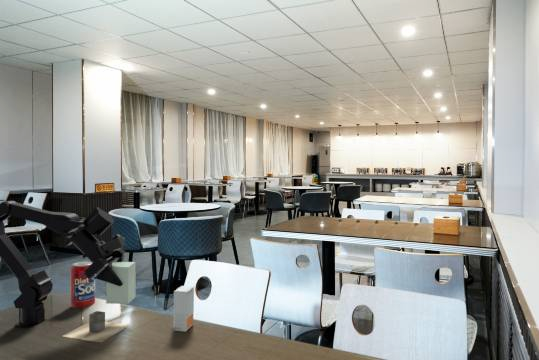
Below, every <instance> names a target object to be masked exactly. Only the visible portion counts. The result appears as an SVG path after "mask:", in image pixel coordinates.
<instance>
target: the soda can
mask: <svg viewBox="0 0 539 360" xmlns="http://www.w3.org/2000/svg"><path fill="white" fill-rule="evenodd" d="M91 264H92V262H91V261H78V262H74V263H72V266H71V268H70V273H69V275H70V278H69V279H70V280H69V281H70V285H69V287H70V293H69V297H70V298H69V299H70V301H69V302H70V303H69V304H70V307H71V308H74V309H75V308H85V307H89V306H92V305H94V304H95V303H96V279H94V278H95V277H96V274H95V275H94V277H93V278H91V279H90V280H89V279H88V278H87V277H86V276H85V270H86V269H87V268H88V267H89V266H90V265H91Z"/></svg>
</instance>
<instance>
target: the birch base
mask: <svg viewBox="0 0 539 360" xmlns="http://www.w3.org/2000/svg"><path fill="white" fill-rule="evenodd" d="M88 316H89V317H88V319H89V321H88V322H87V323H85V324H83V325H81V326H79V327H77V328H74V329H73V330H71V331H69V332H67V333H65V334H63V335H61V337H64V338H70V339H74V340H75V339H77V340H83V341H90V342H96V343H103V342H105V341H106V340H107V339H108V340H109V338H111V337H112V336H114V335H116V334H117V333H119V332H121V331H123V330H124V329H126V328H128V327H129V326H130V324H128V323H127V324H126V323H120V322H111V321H106V312H105V311H99V310H96V311H94V312H92V313H89V314H88Z"/></svg>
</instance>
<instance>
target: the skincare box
mask: <svg viewBox="0 0 539 360" xmlns="http://www.w3.org/2000/svg"><path fill="white" fill-rule="evenodd" d="M194 296H195V286H188V285H187V286H186V285H180V286H179V287H177V288H176V290H173V314H172V315H173V317H172V321H173V323H172V327H173V328H172V331H173V332H188V330H189V329H190V328H191V327H193V326H194V307H195V306H194V301H195V299H194V298H195V297H194Z"/></svg>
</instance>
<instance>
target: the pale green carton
mask: <svg viewBox="0 0 539 360" xmlns="http://www.w3.org/2000/svg"><path fill="white" fill-rule="evenodd" d="M136 267H137V266H136V261H123V262H114V263H112V270H113V271H114V272H115V274H116V275H117V276H118V277H119V279H120V280H121V281H122V283H123V285H122V286H117V285H114V284H111V283H109V282H105V291H106V292H105V300H106V301H105V303H106V304H110V305H111V304H113V305H114V304H120V305H122V304H125V305H128V304H130V303H131V302H132V301H133V300H134V299H135V298H136V287H137V286H136V276H137V275H136Z"/></svg>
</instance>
